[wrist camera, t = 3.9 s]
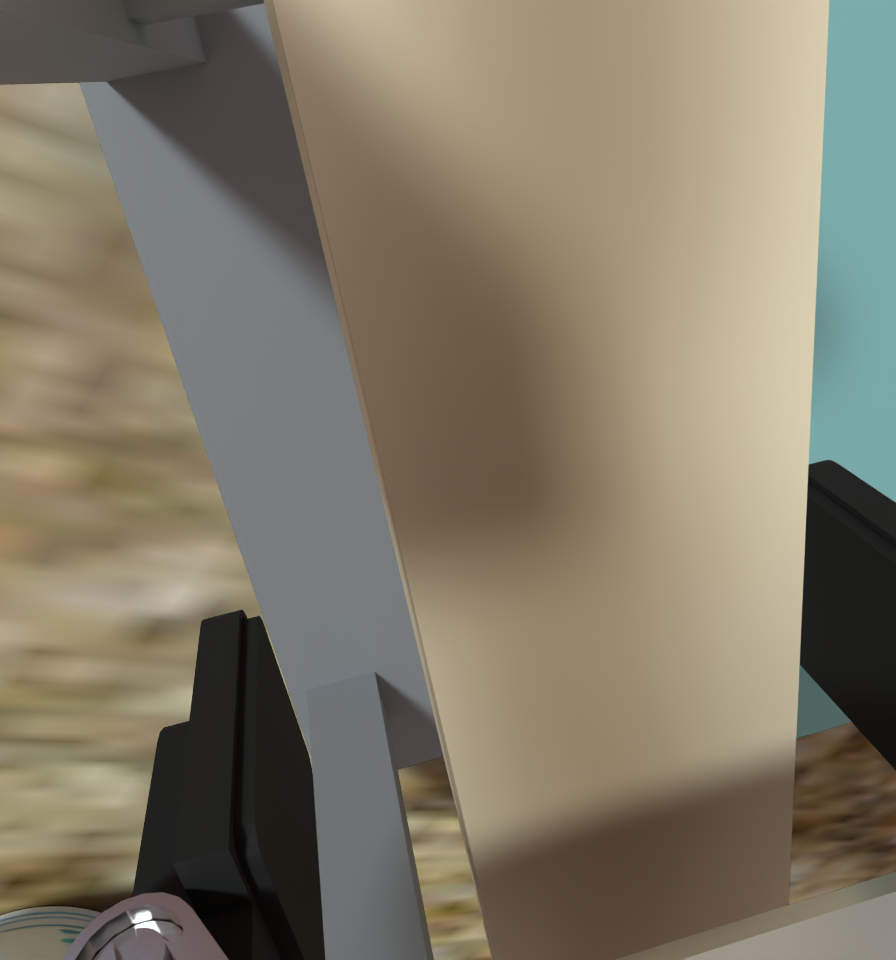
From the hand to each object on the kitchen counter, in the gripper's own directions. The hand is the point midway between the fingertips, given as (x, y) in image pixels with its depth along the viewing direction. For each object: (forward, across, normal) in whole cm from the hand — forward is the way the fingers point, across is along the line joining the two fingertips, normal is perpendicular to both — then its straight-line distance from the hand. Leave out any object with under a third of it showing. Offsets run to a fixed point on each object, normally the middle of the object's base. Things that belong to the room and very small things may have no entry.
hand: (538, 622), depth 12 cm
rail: (-1, 0, 0) cm, 1 cm away
